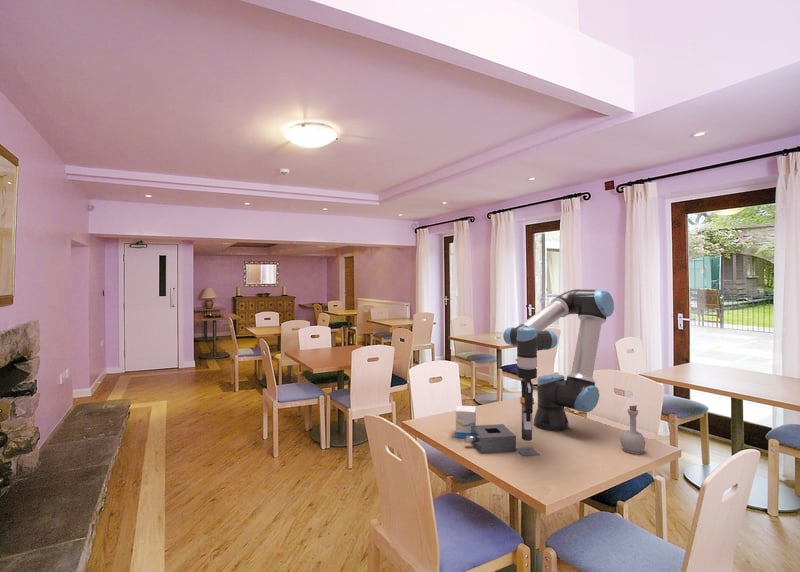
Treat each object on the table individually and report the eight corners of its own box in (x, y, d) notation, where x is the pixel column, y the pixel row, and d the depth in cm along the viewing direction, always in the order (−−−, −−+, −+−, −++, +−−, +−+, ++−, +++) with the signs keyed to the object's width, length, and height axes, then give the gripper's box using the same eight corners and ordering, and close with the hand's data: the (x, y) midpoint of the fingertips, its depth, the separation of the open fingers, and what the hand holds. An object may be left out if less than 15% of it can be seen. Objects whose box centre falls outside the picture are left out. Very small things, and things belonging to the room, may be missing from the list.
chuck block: (503, 438, 181) (503, 424, 181) (516, 451, 167) (515, 435, 167) (461, 440, 179) (461, 426, 179) (471, 453, 165) (471, 438, 165)
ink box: (475, 439, 180) (475, 411, 180) (455, 438, 182) (455, 410, 182) (476, 432, 189) (476, 405, 189) (457, 430, 191) (456, 404, 190)
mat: (532, 448, 170) (532, 447, 170) (539, 455, 163) (539, 454, 163) (515, 449, 170) (515, 448, 170) (522, 456, 163) (522, 455, 163)
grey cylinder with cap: (519, 436, 169) (519, 396, 169) (532, 436, 169) (532, 396, 168) (521, 441, 164) (520, 399, 164) (534, 441, 163) (534, 400, 163)
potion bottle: (636, 456, 161) (636, 409, 161) (615, 448, 169) (615, 403, 169) (651, 452, 165) (651, 406, 165) (629, 444, 173) (629, 400, 173)
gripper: (514, 363, 175) (514, 419, 175) (520, 371, 158) (520, 434, 158) (533, 363, 174) (533, 420, 174) (540, 372, 157) (541, 435, 157)
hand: (526, 426), depth 166 cm, fingers closed on grey cylinder with cap, 4 cm apart
